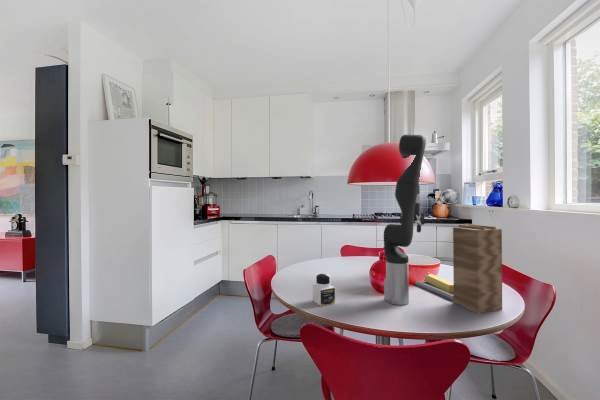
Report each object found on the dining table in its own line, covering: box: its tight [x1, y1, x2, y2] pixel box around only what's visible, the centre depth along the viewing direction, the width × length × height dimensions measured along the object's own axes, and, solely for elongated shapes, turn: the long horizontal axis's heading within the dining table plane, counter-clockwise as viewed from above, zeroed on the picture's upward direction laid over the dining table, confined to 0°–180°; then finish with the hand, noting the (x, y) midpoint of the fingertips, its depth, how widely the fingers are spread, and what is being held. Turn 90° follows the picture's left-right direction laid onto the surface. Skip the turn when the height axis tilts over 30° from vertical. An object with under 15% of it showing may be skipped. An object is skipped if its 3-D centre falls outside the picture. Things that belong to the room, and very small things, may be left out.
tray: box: [414, 281, 454, 302], centre depth 137 cm, size 11×25×2 cm, turn 15°
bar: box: [424, 273, 454, 293], centre depth 140 cm, size 4×20×4 cm, turn 15°
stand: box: [452, 223, 503, 314], centre depth 118 cm, size 12×12×33 cm
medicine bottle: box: [312, 273, 336, 307], centre depth 123 cm, size 7×7×12 cm
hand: (412, 232), depth 157 cm, fingers open, 8 cm apart
